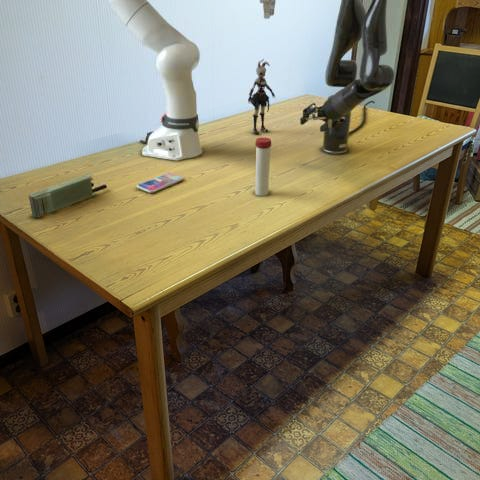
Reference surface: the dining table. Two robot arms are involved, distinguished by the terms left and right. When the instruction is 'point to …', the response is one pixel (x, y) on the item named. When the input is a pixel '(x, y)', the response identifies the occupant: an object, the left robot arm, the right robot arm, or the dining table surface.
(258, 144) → the lid
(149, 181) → the smartphone
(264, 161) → the white bottle
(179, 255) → the dining table surface
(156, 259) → the dining table surface
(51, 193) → the handheld radio
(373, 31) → the right robot arm
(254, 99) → the figurine
